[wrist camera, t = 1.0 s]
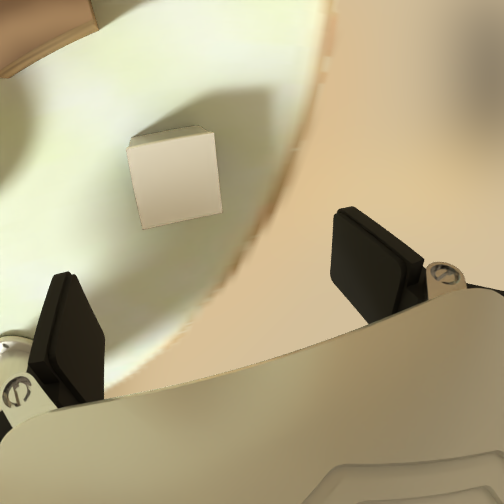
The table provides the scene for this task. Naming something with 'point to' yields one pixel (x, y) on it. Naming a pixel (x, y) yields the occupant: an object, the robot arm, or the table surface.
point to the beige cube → (174, 175)
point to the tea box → (40, 30)
